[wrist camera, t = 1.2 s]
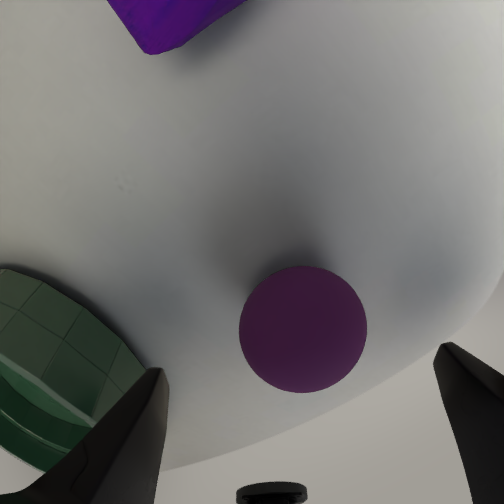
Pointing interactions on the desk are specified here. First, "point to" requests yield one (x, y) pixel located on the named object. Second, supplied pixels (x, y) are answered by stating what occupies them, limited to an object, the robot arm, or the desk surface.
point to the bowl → (54, 371)
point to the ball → (302, 329)
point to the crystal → (168, 20)
